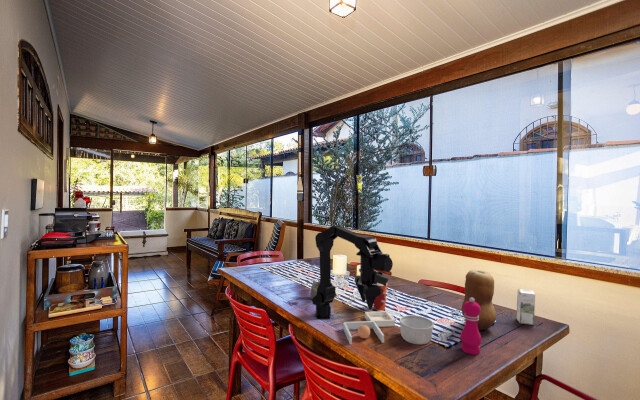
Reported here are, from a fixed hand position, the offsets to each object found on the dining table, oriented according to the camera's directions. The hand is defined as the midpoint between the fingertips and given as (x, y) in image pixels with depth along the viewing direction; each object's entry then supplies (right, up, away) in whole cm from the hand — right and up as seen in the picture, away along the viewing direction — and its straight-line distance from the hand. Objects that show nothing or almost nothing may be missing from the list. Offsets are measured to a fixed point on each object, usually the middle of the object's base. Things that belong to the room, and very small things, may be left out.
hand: (366, 305), depth 130 cm
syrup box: (+75, -13, +16) cm, 78 cm away
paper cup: (+11, -12, +31) cm, 35 cm away
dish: (+8, -12, +14) cm, 20 cm away
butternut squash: (+50, -13, +9) cm, 52 cm away
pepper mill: (+37, -13, -11) cm, 41 cm away
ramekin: (+20, -13, -1) cm, 24 cm away
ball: (-1, -12, -2) cm, 13 cm away
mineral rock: (-18, -11, +43) cm, 48 cm away
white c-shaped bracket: (-2, -12, 0) cm, 13 cm away
